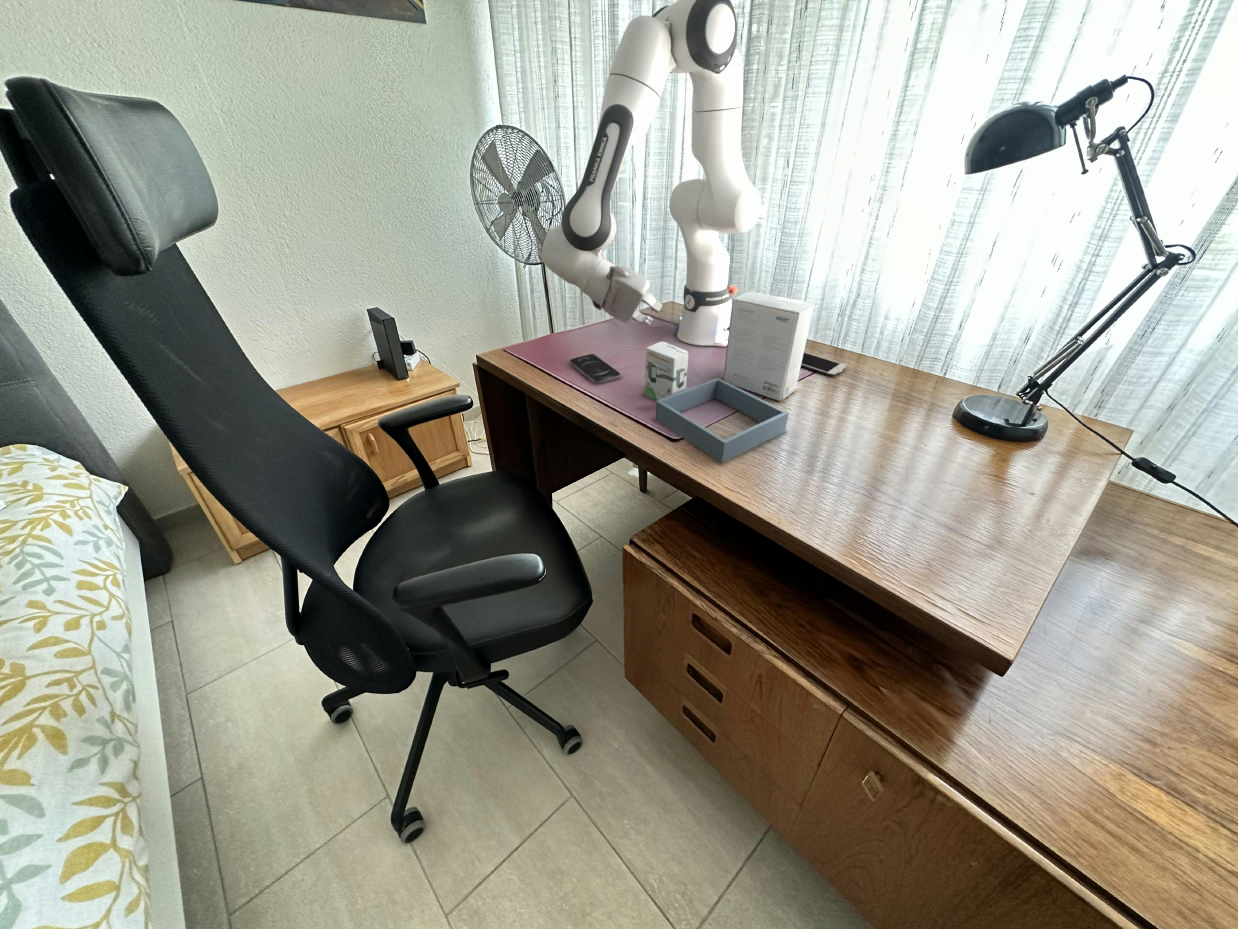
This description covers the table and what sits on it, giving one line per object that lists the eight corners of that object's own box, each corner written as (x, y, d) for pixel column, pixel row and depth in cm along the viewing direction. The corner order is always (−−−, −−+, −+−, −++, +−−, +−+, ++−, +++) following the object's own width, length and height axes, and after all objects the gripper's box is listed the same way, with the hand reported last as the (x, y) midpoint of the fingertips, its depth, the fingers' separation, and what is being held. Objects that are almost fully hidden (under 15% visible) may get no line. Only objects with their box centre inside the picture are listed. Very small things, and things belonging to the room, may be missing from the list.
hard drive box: (796, 390, 109) (816, 303, 97) (780, 402, 105) (799, 313, 93) (738, 371, 118) (749, 289, 106) (721, 382, 113) (731, 297, 101)
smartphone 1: (595, 382, 113) (568, 359, 123) (596, 385, 113) (568, 362, 124) (622, 374, 116) (593, 353, 126) (622, 377, 116) (593, 356, 127)
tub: (715, 395, 108) (717, 377, 105) (784, 432, 95) (788, 412, 92) (655, 419, 100) (655, 400, 97) (721, 463, 87) (724, 442, 84)
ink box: (643, 395, 109) (644, 346, 102) (658, 388, 112) (659, 340, 105) (671, 408, 104) (673, 357, 97) (686, 400, 106) (689, 350, 99)
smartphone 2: (833, 377, 114) (833, 374, 113) (778, 359, 123) (778, 356, 122) (847, 368, 118) (848, 365, 117) (793, 351, 127) (793, 348, 126)
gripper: (618, 250, 98) (674, 287, 100) (606, 288, 119) (652, 319, 120) (603, 275, 98) (659, 312, 100) (593, 309, 118) (640, 339, 120)
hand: (655, 316), depth 110 cm, fingers open, 8 cm apart
